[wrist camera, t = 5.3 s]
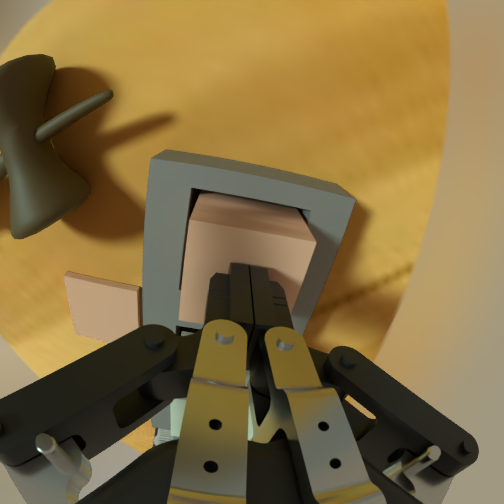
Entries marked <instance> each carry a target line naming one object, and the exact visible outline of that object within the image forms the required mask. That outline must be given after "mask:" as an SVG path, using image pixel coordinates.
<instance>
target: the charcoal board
mask: <svg viewBox="0 0 504 504" xmlns="http://www.w3.org/2000/svg"><path fill="white" fill-rule="evenodd" d="M196 189H203V190H209V191H214V192H220V193H226V194H231V195H237V196H242V197H248V198H253V199H258V200H263V201H268V202H273V203H278V204H283V205H288V206H292V207H296V208H297V210H298V211H299V213H300V215H301V216H302V218H303V220H304V221H305V223H306V225H307V227H308V228H309V230H310V232H311V233H312V235H313V237H314V239H315V240H316V242H317V243H316V246H315V249H314V252H313V255H312V257H311V260H310V263H309V266H308V269H307V271H306V274H305V277H304V280H303V283H302V285H301V288H300V291H299V293H298V296H297V299H296V301H295V304H294V307H293V309H292V312H291V314H290V315H291V319H292V323H293V327H294V330H295V331H297V332H298V333H299V334H301V336H303V333H304V331H305V329H306V327H307V324H308V322H309V320H310V318H311V315H312V313H313V311H314V308H315V306H316V304H317V301H318V299H319V297H320V294H321V292H322V289H323V287H324V285H325V282H326V280H327V277H328V275H329V272H330V270H331V267H332V264H333V262H334V259H335V257H336V254H337V251H338V249H339V246H340V243H341V241H342V238H343V235H344V233H345V230H346V227H347V224H348V221H349V218H350V216H351V213H352V210H353V207H354V204H355V201H356V199H355V198H354V197H352V196H351V195H350V194H349V193H347V192H346V191H345V190H344V189H342V188H341V187H340V186H339V185H337V184H335V183H331V182H328V181H324V180H320V179H316V178H312V177H308V176H304V175H300V174H296V173H292V172H287V171H283V170H278V169H274V168H269V167H265V166H260V165H255V164H250V163H245V162H240V161H235V160H229V159H224V158H218V157H212V156H206V155H200V154H194V153H187V152H180V151H173V150H164V151H162V152H161V153H159V154H157V155H155V156H154V157H152V158H151V160H150V168H149V177H148V186H147V197H146V209H145V223H144V241H143V276H142V300H143V326H144V325H148V324H158V325H162V326H165V327H167V328H169V329H171V330H172V331H173V332H174V333H175V335H176V336H179V333H180V326H183V327H189V328H195V329H202V327H203V324H199V323H193V322H187V321H181V320H179V309H180V297H181V287H182V277H183V267H184V259H185V250H186V242H187V234H188V226H189V219H190V217H191V214H192V212H193V208H194V202H195V195H196ZM151 421H152V427H155V428H160V429H166V430H171V411H170V404H169V405H168V406H167V407H165V408H164V409H163V410H161V411H160V412H159V413H157V414H156V415H154V416H153V417H152V418H151Z"/></svg>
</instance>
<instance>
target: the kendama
mask: <svg viewBox="0 0 504 504" xmlns="http://www.w3.org/2000/svg"><path fill="white" fill-rule="evenodd" d="M55 68H56V66H55V63H54V60H53V57H50V56H47V55H44V54H36V55H26V56H22V57H19V58H16V59H14V60H11V61H8V62H6V63H5V64H3V65H1V66H0V151H1V154H0V182H1V181H2V180H3V179H4V177H5V176H6V175H7V174H8V179H9V187H10V230H11V234H12V236H13V237H14V239H24V238H26V237H29V236H31V235H34V234H36V233H38V232H40V231H41V230H43V229H45V228H47V227H48V226H50V225H52V224H53V223H55V222H56V221H58V220H59V219H61V218H63V217H64V216H66V215H67V214H69V213H70V212H71V211H73V210H74V209H76V208H77V207H78V206H79V205H80V204H81V203H82V202H84V201H85V200H86V199H87V198H88V196H89V194H90V192H91V190H90V186H89V185H88V183H87V182H86V181H85V180H84V179H83V178H82V177H80V176H79V175H78V174H77V173H75V172H74V171H73V170H72V169H71V168H69V167H68V166H67V165H66V164H65V163H64V162H63V161H62V160H61V159H60V158H59V156H58V155H57V153H56V152H55V150H54V148H53V146H52V144H51V141H50V138H52V137H53V136H55V135H56V134H58V133H59V132H61V131H62V130H63V129H65V128H66V127H68V126H70V125H71V124H73V123H74V122H76V121H77V120H79V119H80V118H82V117H84V116H85V115H87V114H89V113H90V112H92V111H93V110H95V109H97V108H98V107H100V106H102V105H103V104H105V103H106V102H108V101H109V100H110V99H111V98H112V97H113V95H114V94H113V91H111V90H107V91H103V92H101V93H98V94H96V95H94V96H92V97H90V98H88V99H86V100H84V101H82V102H80V103H78V104H76V105H74V106H72V107H71V108H69V109H67V110H65V111H64V112H62V113H60V114H59V115H57V116H55V117H54V118H52V119H51V120H49V121H47V122H46V121H45V119H44V105H45V101H46V97H47V93H48V90H49V87H50V84H51V81H52V78H53V75H54V72H55Z"/></svg>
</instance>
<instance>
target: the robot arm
mask: <svg viewBox="0 0 504 504" xmlns="http://www.w3.org/2000/svg"><path fill="white" fill-rule="evenodd" d="M246 370H249V372H250V378H249V381H248V384H247V387H246V386H245V379H246ZM347 395H349V396H351V397H352V398H353V399H354V400H356V401H357V402H358V403H360V404H361V405H362V406H363V407H365V408H366V409H367V410H368V411H370V412H371V413H372V414H374V416H376V419H370V418H368V417H366V416H365V415H364V414H363V413H361V412H360V411H359V410H358V409H356V408H355V407H354V406H353V405H351V404H350V403H349V402H348V401H346V400H345V398H346V397H347ZM179 398H187V400H186V405H185V410H184V415H183V420H182V425H181V430H180V436H179V439H176V440H170V441H167V442H164V443H161V444H159V445H156V446H154V447H152V448H151V449H149V450H147V451H146V452H144V453H143V454H142V455H141V456H139V457H138V458H137V459H136V460H134V461H133V462H132V463H131V464H129V465H128V466H127V467H125V468H124V469H123V470H121V471H120V472H119V473H117V474H116V475H115V476H113V477H112V478H111V479H109V480H108V481H107V482H105V483H104V484H102V485H101V486H100V487H98V488H97V489H96V490H94V491H93V492H91V493H90V494H88V495H87V496H85V497H84V498H83V499H81V500H79V501H78V497H79V493H80V491H81V489H82V488H83V487H84V486H85V485H86V484H87V483H88V482H89V481H90V478H91V475H92V467H91V464H90V462H89V460H90V459H91V458H93V457H94V456H96V455H98V454H99V453H101V452H102V451H104V450H105V449H107V448H108V447H110V446H111V445H113V444H114V443H116V442H117V441H119V440H120V439H122V438H123V437H125V436H126V435H128V434H129V433H130V432H132V431H133V430H135V429H136V428H138V427H139V426H140V425H142V424H143V423H145V422H146V421H148V420H149V419H150V418H152V417H153V416H154V415H156V414H157V413H159V412H160V411H161V410H163V409H164V408H165V407H167V406H168V405H169V404H171V403H172V402H173V400H174V399H179ZM249 406H250V412H251V419H252V425H253V439H252V441H250V440H248V415H249ZM478 454H479V449H478V445H477V442H476V440H475V439H474V438H473V436H472V435H470V434H469V433H467V432H466V431H465V430H464V429H462V428H461V427H459V426H458V425H457V424H455V423H454V422H452V421H451V420H450V419H448V418H447V417H446V416H444V415H443V414H441V413H440V412H439V411H437V410H436V409H434V408H433V407H432V406H431V405H429V404H428V403H426V402H425V401H424V400H422V399H421V398H420V397H418V396H417V395H415V394H414V393H412V392H411V391H410V390H409V389H407V388H406V387H405V386H403V385H402V384H401V383H399V382H398V381H397V380H395V379H394V378H393V377H391V376H390V375H389V374H387V373H386V372H385V371H383V370H382V369H381V368H379V367H378V366H376V365H375V364H374V363H373V362H371V361H370V360H369V359H367V358H366V357H365V356H363V355H362V354H361V353H359V352H358V351H357V350H355V349H353V348H350V347H347V346H338V347H335V348H333V349H332V350H331V352H330V354H327V353H324V352H321V351H317V350H314V349H312V348H310V347H308V346H307V344H306V342H305V339H304V338H303V337H302V336H301V334H299V333H298V332H297V331H295V330H294V327H293V323H292V319H291V315H290V311H289V307H288V303H287V300H286V295H285V291H284V289H283V288H282V286H281V285H280V284H279V283H278V282H276V281H269V276H268V270H267V268H263V267H257V266H251V265H249V266H248V265H244V264H238V263H232V262H231V263H230V266H229V270H228V274H224V273H217V272H216V273H215V274H214V275H213V276H212V277H211V278H210V282H209V288H208V295H207V301H206V307H205V315H204V324H203V327H202V329H200V330H199V331H198V332H196V333H194V334H191V335H186V336H176V335H175V333H174V332H173V331H172V330H171V329H169V328H167V327H165V326H162V325H158V324H148V325H144V326H141V327H139V328H137V329H135V330H133V331H132V332H130V333H128V334H126V335H124V336H122V337H120V338H118V339H116V340H115V341H113V342H111V343H109V344H107V345H105V346H103V347H101V348H99V349H97V350H95V351H94V352H92V353H90V354H88V355H86V356H84V357H82V358H80V359H78V360H76V361H74V362H72V363H70V364H69V365H67V366H65V367H63V368H61V369H59V370H57V371H55V372H53V373H51V374H49V375H47V376H45V377H43V378H41V379H39V380H37V381H35V382H34V383H32V384H30V385H28V386H26V387H24V388H22V389H20V390H18V391H16V392H14V393H12V394H10V395H8V396H6V397H4V398H2V399H0V462H1V463H2V464H3V465H4V466H5V468H6V470H7V471H8V473H9V475H10V477H11V479H12V480H13V482H14V484H15V485H16V487H17V488H18V490H19V492H20V493H21V495H22V497H23V498H24V500H25V501H26V503H27V504H441V503H442V501H443V499H444V497H445V495H446V493H447V491H448V489H449V486H450V484H451V482H452V479H453V477H454V476H455V475H456V474H458V473H459V472H461V471H462V470H464V469H465V468H467V467H468V466H470V465H471V464H473V463H474V462H475V461H476V460H477V458H478Z"/></svg>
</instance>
